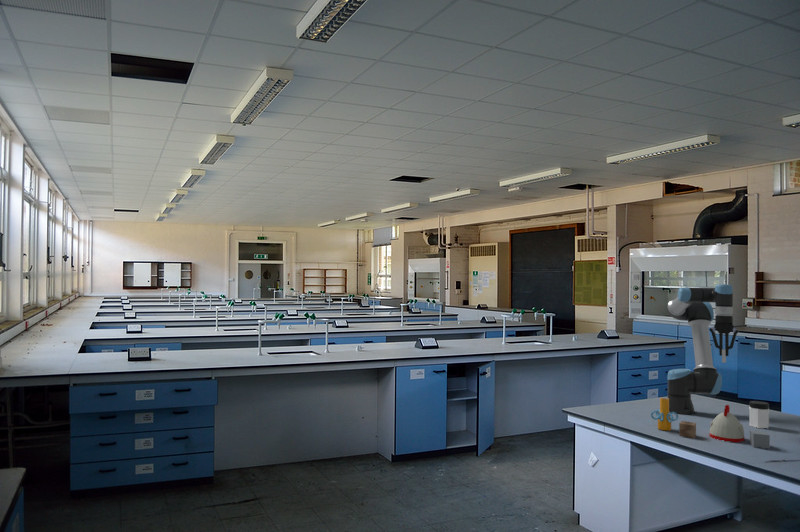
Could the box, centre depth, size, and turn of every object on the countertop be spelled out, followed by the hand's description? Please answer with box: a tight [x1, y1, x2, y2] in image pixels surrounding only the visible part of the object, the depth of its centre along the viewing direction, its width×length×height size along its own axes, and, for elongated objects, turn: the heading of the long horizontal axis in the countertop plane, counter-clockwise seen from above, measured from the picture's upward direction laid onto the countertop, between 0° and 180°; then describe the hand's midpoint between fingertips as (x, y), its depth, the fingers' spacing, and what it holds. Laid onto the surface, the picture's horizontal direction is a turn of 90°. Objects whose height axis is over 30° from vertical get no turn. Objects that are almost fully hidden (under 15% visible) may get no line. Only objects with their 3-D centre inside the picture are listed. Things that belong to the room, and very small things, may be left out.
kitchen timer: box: [709, 404, 745, 443], centre depth 253 cm, size 14×14×15 cm
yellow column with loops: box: [650, 397, 679, 432], centre depth 266 cm, size 12×10×15 cm
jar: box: [748, 400, 770, 429], centre depth 274 cm, size 9×8×12 cm
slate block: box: [749, 429, 771, 450], centre depth 240 cm, size 6×6×6 cm
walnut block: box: [678, 420, 697, 439], centre depth 255 cm, size 6×6×6 cm
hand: (723, 362), depth 273 cm, fingers closed
